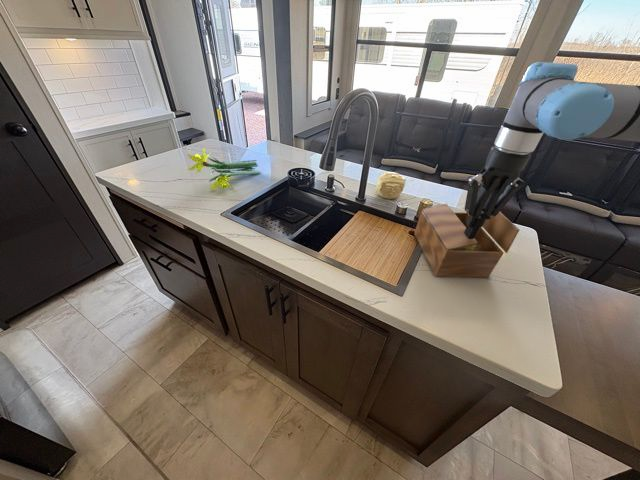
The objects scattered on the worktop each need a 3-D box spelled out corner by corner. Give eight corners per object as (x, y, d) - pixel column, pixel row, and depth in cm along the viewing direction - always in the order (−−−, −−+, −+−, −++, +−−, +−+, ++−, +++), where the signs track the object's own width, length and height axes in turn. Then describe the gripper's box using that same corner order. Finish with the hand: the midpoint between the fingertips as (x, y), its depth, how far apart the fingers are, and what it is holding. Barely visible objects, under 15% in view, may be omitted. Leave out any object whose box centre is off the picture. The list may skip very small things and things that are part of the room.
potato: (430, 253, 82) (438, 233, 77) (471, 258, 81) (482, 238, 76) (435, 270, 76) (444, 250, 71) (480, 277, 74) (492, 256, 70)
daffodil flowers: (271, 179, 125) (213, 186, 96) (251, 188, 133) (191, 197, 104) (259, 145, 123) (195, 142, 93) (240, 156, 130) (175, 157, 101)
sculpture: (376, 201, 110) (381, 177, 103) (373, 188, 119) (377, 166, 112) (403, 202, 109) (409, 179, 103) (397, 189, 119) (403, 167, 112)
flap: (478, 244, 67) (478, 242, 67) (447, 250, 69) (447, 249, 68) (446, 204, 84) (446, 203, 84) (422, 210, 85) (422, 209, 85)
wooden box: (491, 277, 75) (522, 229, 65) (435, 276, 75) (457, 228, 64) (460, 234, 92) (480, 191, 81) (414, 233, 91) (428, 190, 81)
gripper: (529, 144, 58) (484, 228, 73) (474, 142, 58) (440, 227, 72) (553, 156, 52) (499, 244, 67) (492, 154, 52) (451, 243, 66)
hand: (468, 235), depth 70 cm, fingers closed
